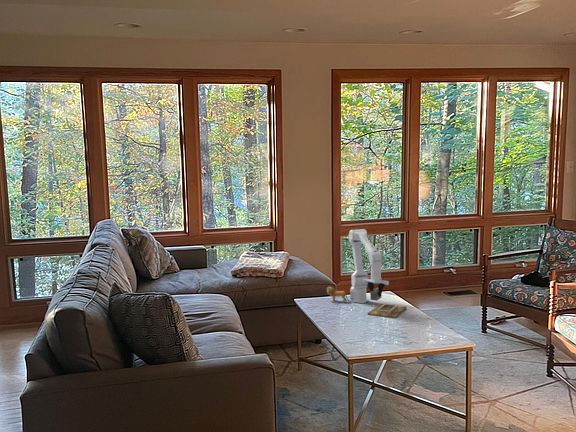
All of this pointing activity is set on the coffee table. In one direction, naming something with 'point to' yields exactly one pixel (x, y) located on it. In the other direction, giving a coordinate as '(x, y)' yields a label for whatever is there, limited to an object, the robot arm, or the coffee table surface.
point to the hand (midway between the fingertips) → (376, 295)
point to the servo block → (375, 294)
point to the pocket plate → (387, 310)
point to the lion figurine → (336, 294)
